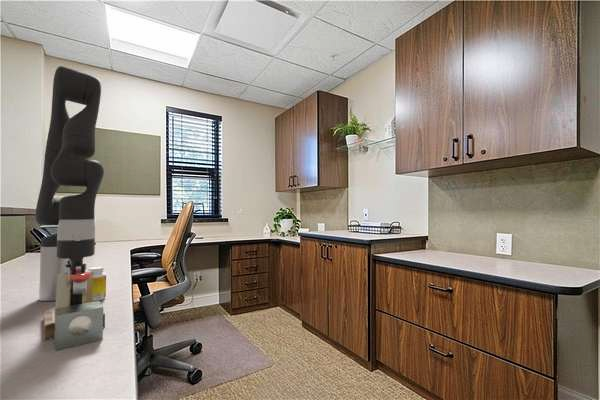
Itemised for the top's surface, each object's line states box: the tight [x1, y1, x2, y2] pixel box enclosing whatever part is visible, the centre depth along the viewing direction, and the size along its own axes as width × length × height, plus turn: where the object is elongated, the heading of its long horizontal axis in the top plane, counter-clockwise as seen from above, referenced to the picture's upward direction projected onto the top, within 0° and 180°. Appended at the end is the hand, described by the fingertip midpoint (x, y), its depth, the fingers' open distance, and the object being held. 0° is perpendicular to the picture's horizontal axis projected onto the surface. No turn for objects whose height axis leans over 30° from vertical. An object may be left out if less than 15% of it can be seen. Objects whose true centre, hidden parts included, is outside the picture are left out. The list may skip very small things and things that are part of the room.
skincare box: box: [54, 270, 93, 310], centre depth 72 cm, size 6×4×12 cm
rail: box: [43, 309, 106, 341], centre depth 73 cm, size 18×11×3 cm, turn 42°
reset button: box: [69, 272, 91, 294], centre depth 64 cm, size 4×4×4 cm
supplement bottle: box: [88, 266, 107, 302], centre depth 94 cm, size 6×6×10 cm
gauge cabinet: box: [53, 300, 104, 352], centre depth 63 cm, size 6×8×7 cm
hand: (74, 304), depth 72 cm, fingers closed on skincare box, 6 cm apart
